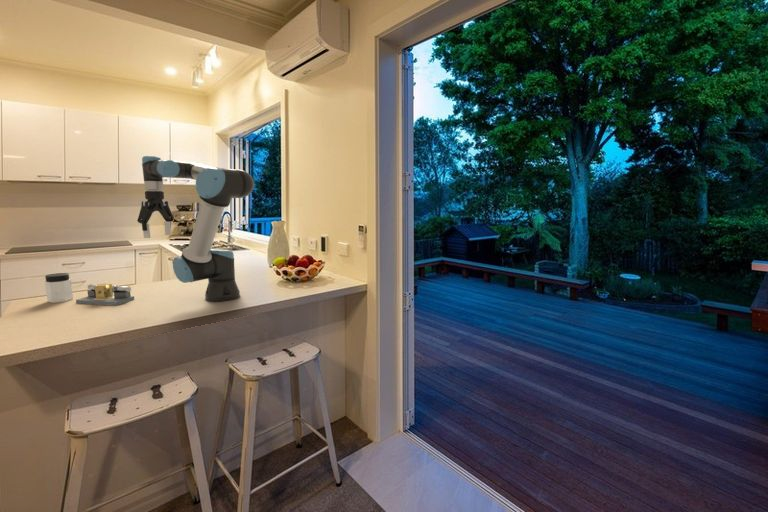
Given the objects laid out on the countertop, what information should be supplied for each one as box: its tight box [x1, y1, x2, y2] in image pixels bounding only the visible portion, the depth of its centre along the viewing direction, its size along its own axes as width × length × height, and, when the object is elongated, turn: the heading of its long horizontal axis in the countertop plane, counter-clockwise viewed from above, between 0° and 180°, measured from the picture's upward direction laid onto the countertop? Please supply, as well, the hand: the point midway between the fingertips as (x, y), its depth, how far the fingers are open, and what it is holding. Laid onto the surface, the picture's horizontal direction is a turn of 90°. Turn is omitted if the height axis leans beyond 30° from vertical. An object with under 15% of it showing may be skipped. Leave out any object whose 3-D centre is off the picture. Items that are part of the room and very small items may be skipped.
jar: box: [44, 272, 74, 304], centre depth 169 cm, size 9×8×12 cm
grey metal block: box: [112, 285, 132, 299], centre depth 170 cm, size 6×4×6 cm, turn 97°
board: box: [75, 294, 135, 306], centre depth 169 cm, size 20×10×2 cm, turn 82°
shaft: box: [87, 283, 97, 298], centre depth 172 cm, size 6×4×6 cm, turn 67°
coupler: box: [95, 283, 114, 299], centre depth 169 cm, size 5×5×6 cm
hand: (158, 236), depth 176 cm, fingers open, 13 cm apart
